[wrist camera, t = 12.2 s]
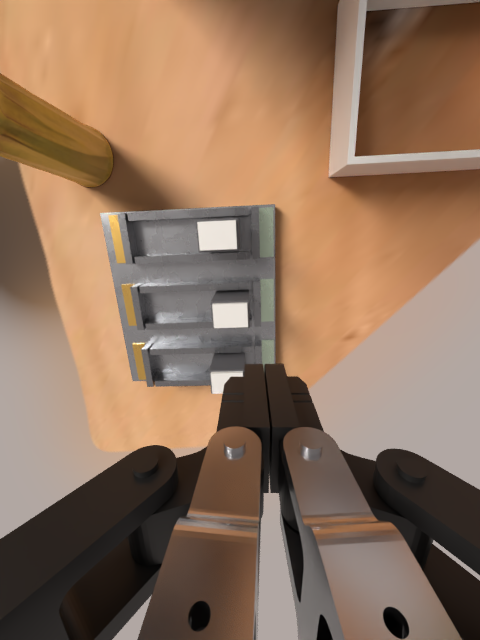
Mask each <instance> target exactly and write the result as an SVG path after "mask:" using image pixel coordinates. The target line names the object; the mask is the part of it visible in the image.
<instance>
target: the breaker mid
mask: <svg viewBox="0 0 480 640" xmlns="http://www.w3.org/2000/svg"><path fill="white" fill-rule="evenodd" d="M211 313H212V326H213V329H223V328H250V304H249V289H248V290H220V291H216V293H215V295H214V296H213V298H212V300H211Z"/></svg>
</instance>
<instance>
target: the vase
mask: <svg viewBox="0 0 480 640" xmlns="http://www.w3.org/2000/svg"><path fill="white" fill-rule="evenodd" d="M0 156H1V157H4V158H7V159H10V160H13V161H16V162H19V163H22V164H25V165H28V166H31V167H34V168H37V169H40V170H43V171H46V172H49V173H52V174H55V175H58V176H60V177H63V178H66V179H68V180H71V181H74V182H76V183H78V184H80V185H82V186H85V187H96V186H99V185H101V184H103V183H104V182H105V181H106V180H107V179H108V178H109V176H110V174H111V172H112V169H113V154H112V150H111V148H110V145H109V143H108V141H107V140H106V139H105V137H104V136H103V135H102V134H101V133H100V132H99V131H97V130H96V129H94V128H92V127H90V126H87V125H84V124H83V123H81V122H79V121H77V120H76V119H74V118H72V117H71V116H69V115H68V114H66V113H65V112H63V111H61V110H59V109H58V108H56V107H54V106H53V105H51V104H49V103H48V102H46V101H44V100H43V99H41V98H39V97H37V96H35V95H34V94H32V93H30V92H29V91H27V90H26V89H24V88H23V87H21V86H20V85H18V84H17V83H15V82H13V81H12V80H10V79H9V78H7V77H5V76H4V75H2V74H1V73H0Z"/></svg>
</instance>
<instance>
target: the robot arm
mask: <svg viewBox="0 0 480 640" xmlns="http://www.w3.org/2000/svg"><path fill="white" fill-rule="evenodd" d="M269 476H270V477H269ZM269 478H270V489H271V493H279V497H280V525H281V530H282V535H283V541H284V547H285V552H286V558H287V564H288V569H289V575H290V581H291V586H292V592H293V597H294V602H295V609H296V617H297V626H298V640H480V581H479V580H478V579H477V578H476V577H474V576H473V575H472V574H470V573H469V572H468V571H466V570H465V569H464V568H463V567H461V566H460V565H459V564H457V563H456V562H455V561H454V560H452V559H451V558H450V557H449V556H447V555H446V554H445V553H443V552H442V551H441V550H439V549H438V548H437V547H436V546H434V545H433V544H432V543H433V540H435V541H436V542H438V543H439V544H440V545H441V546H443V547H444V548H445V549H446V550H448V551H449V552H450V553H452V554H453V555H454V556H456V557H457V558H458V559H459V560H461V561H462V562H464V563H465V564H466V565H467V566H469V567H470V568H471V569H473V570H474V571H475V572H477V573H478V574H479V575H480V490H479V489H477V488H475V487H474V486H472V485H470V484H468V483H467V482H465V481H463V480H461V479H460V478H458V477H456V476H455V475H453V474H451V473H449V472H448V471H446V470H444V469H442V468H441V467H439V466H437V465H435V464H434V463H432V462H430V461H428V460H427V459H425V458H423V457H421V456H419V455H417V454H415V453H413V452H410V451H406V450H402V449H387V450H384V451H382V452H381V453H380V454H379V455H378V456H377V459H376V461H373V460H368V459H365V458H361V457H357V456H354V455H351V454H348V453H346V452H344V451H342V450H340V449H339V447H338V445H337V444H336V442H335V441H334V440H333V438H332V437H331V436H329V435H328V434H327V433H325V432H324V431H323V428H322V426H321V423H320V420H319V417H318V415H317V412H316V409H315V407H314V404H313V403H312V399H311V396H310V395H309V391H308V388H307V385H306V384H305V383H304V382H303V381H302V380H301V379H300V378H299V377H287V376H286V372H285V368H284V364H264V367H263V364H245V368H244V377H230V378H229V379H228V380H227V382H226V383H225V384H224V389H223V395H222V402H221V408H220V414H219V420H218V426H217V432H216V433H215V434H214V435H213V436H212V437H211V439H210V440H209V443H208V446H207V447H206V448H204V449H202V450H201V451H199V452H197V453H193V454H190V455H186V456H183V457H179V458H176V457H175V455H174V453H173V452H172V451H171V450H170V449H169V448H167V447H164V446H160V445H152V446H146V447H143V448H140V449H138V450H136V451H134V452H132V453H130V454H129V455H127V456H126V457H125V458H123V459H121V460H120V461H118V462H117V463H115V464H114V465H112V466H111V467H109V468H108V469H106V470H105V471H103V472H102V473H100V474H99V475H97V476H96V477H94V478H93V479H91V480H90V481H88V482H86V483H85V484H83V485H82V486H80V487H79V488H77V489H76V490H74V491H73V492H71V493H70V494H68V495H67V496H65V497H64V498H62V499H61V500H59V501H58V502H56V503H55V504H53V505H52V506H50V507H48V508H47V509H45V510H44V511H42V512H41V513H39V514H38V515H37V516H35V517H33V518H32V519H30V520H29V521H27V522H26V523H24V524H23V525H21V526H20V527H18V528H17V529H15V530H14V531H12V532H10V533H9V534H7V535H6V536H4V537H3V538H1V539H0V640H112V639H113V638H114V637H115V636H116V634H117V633H118V632H119V631H120V630H121V629H122V627H123V626H124V625H125V624H126V623H127V622H128V621H129V620H130V618H131V617H132V616H133V615H134V614H135V613H136V612H137V610H138V609H139V608H140V607H141V606H142V605H143V604H144V602H145V601H146V600H147V599H148V598H149V597H150V596H151V595H152V596H151V600H150V603H149V606H148V609H147V612H146V615H145V618H144V621H143V624H142V627H141V630H140V634H139V637H138V640H257V632H258V595H259V563H260V531H261V518H262V515H263V497H264V496H263V493H268V491H269V490H268V489H269Z"/></svg>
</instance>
